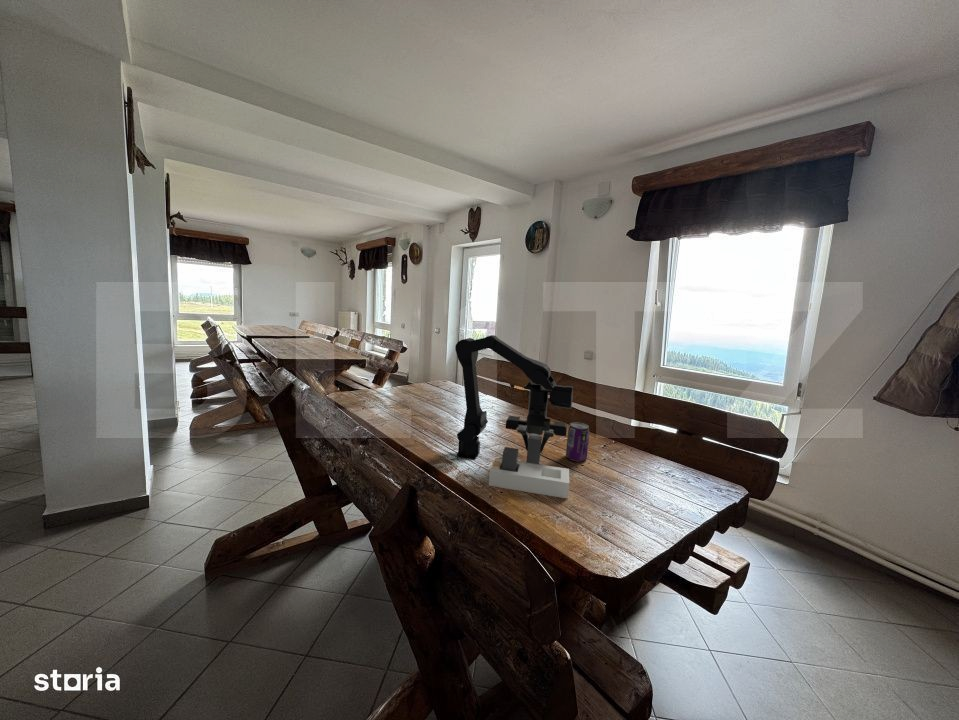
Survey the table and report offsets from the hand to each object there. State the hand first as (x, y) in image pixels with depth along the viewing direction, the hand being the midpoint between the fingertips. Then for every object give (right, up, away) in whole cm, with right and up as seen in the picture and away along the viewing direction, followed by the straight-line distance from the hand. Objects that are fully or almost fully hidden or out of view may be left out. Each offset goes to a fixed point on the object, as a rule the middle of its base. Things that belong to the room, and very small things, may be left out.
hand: (534, 451), depth 117 cm
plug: (0, -3, 0) cm, 4 cm away
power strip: (-3, -7, -11) cm, 13 cm away
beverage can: (+16, -5, +9) cm, 19 cm away
